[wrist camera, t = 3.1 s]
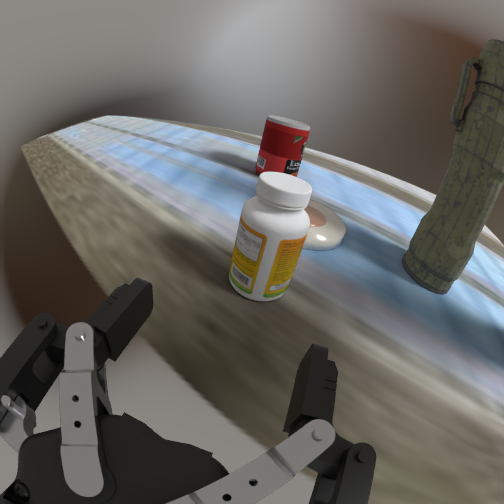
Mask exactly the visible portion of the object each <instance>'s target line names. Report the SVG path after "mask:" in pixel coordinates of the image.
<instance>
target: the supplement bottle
mask: <svg viewBox="0 0 504 504" xmlns="http://www.w3.org/2000/svg"><path fill="white" fill-rule="evenodd" d="M311 193H312V187H311V186H310V185H309V184H308V183H307V182H305V181H303V180H302V179H300V178H297V177H295V176H292V175H289V174H285V173H280V172H263V173H261V174H260V176H259V179H258V183H257V186H256V195H257V196H254V197H252V198H250V199H248V200H247V201H246V202H245V204H244V206H243V208H242V212H241V217H240V222H239V227H238V231H237V236H236V241H235V246H234V251H233V256H232V261H231V266H230V271H229V280H230V283H231V285H232V286H233V288H234V289H235V290H236V291H237V292H238V293H240V294H241V295H243V296H244V297H246V298H249V299H251V300H256V301H272V300H275V299H278V298H280V297H281V296H282V295H283V294H284V293H285V292H286V290H287V287H288V285H289V282H290V280H291V277H292V274H293V272H294V269H295V267H296V264H297V261H298V259H299V256H300V253H301V250H302V248H303V245H304V242H305V239H306V237H307V234H308V230H309V227H310V219H309V216H308V214H307V213H306V211H305V210H304V209H305V208H306V207H307V205H308V203H309V200H310V196H311Z"/></svg>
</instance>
